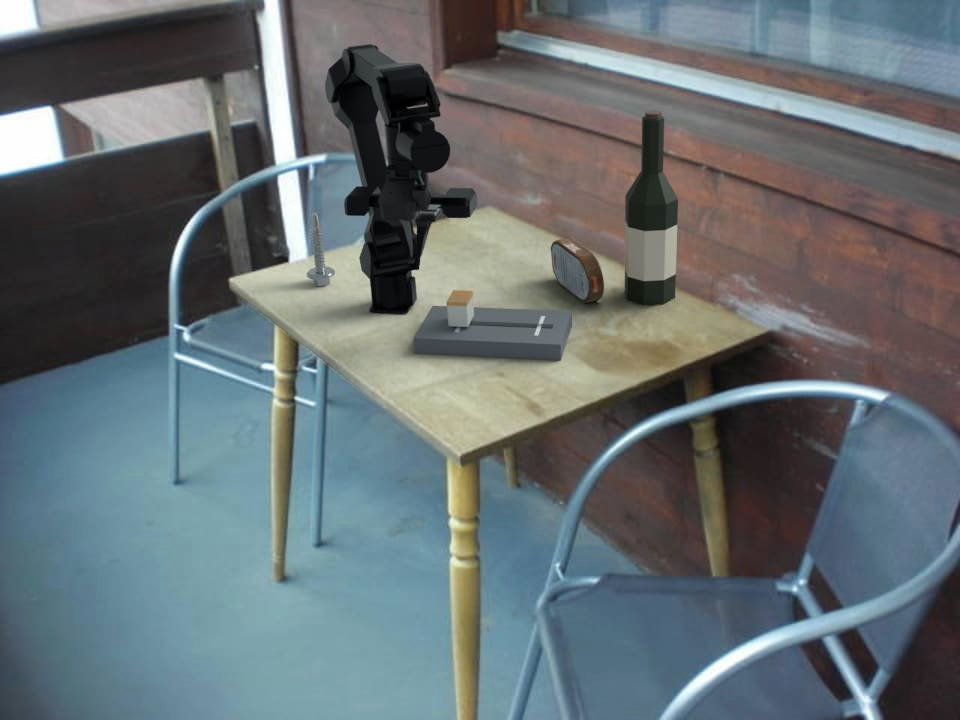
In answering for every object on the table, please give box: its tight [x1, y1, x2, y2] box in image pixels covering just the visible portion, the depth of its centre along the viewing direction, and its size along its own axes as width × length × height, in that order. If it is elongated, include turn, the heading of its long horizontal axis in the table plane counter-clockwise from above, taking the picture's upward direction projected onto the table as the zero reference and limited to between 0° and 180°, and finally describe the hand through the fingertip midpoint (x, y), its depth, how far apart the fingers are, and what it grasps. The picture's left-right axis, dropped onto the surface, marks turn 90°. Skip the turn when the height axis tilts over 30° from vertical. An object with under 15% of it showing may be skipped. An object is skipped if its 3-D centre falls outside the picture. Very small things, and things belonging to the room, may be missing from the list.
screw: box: [306, 211, 336, 288], centre depth 195 cm, size 13×5×5 cm
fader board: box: [412, 305, 573, 361], centre depth 174 cm, size 22×12×3 cm, turn 78°
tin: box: [550, 236, 605, 304], centre depth 187 cm, size 15×3×8 cm, turn 22°
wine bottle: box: [624, 109, 679, 306], centre depth 180 cm, size 8×8×30 cm
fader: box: [445, 289, 475, 327], centre depth 173 cm, size 3×4×4 cm
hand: (415, 257), depth 171 cm, fingers closed
